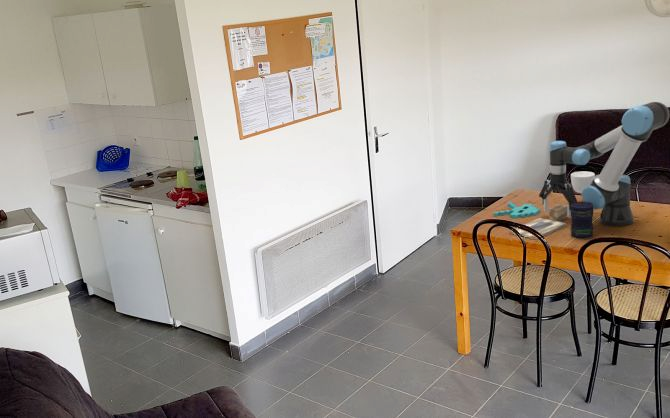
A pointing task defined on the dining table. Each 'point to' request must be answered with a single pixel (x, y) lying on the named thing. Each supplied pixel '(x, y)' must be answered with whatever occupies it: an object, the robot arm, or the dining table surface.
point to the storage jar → (582, 220)
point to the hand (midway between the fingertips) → (557, 213)
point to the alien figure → (519, 211)
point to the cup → (581, 180)
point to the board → (541, 227)
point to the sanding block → (558, 213)
